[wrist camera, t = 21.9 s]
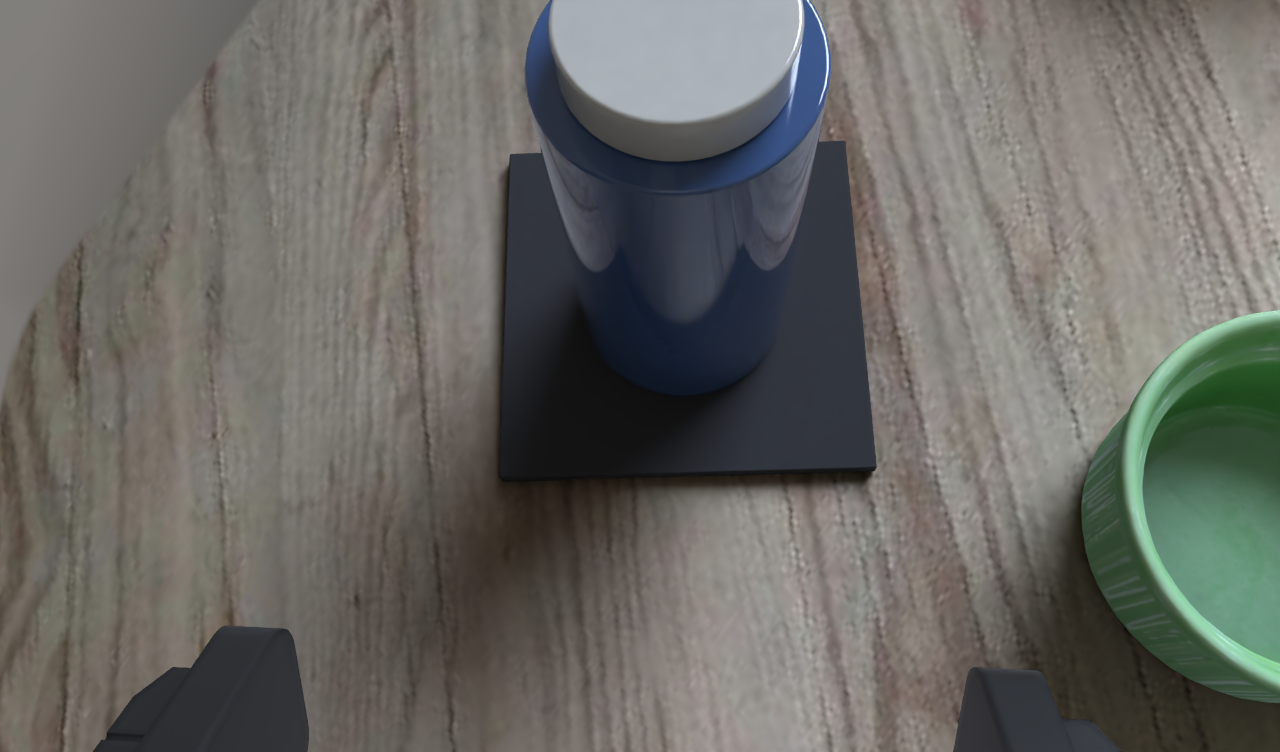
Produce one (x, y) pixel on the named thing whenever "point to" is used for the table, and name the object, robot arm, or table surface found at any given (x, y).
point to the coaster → (697, 424)
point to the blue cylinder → (680, 173)
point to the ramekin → (1198, 510)
